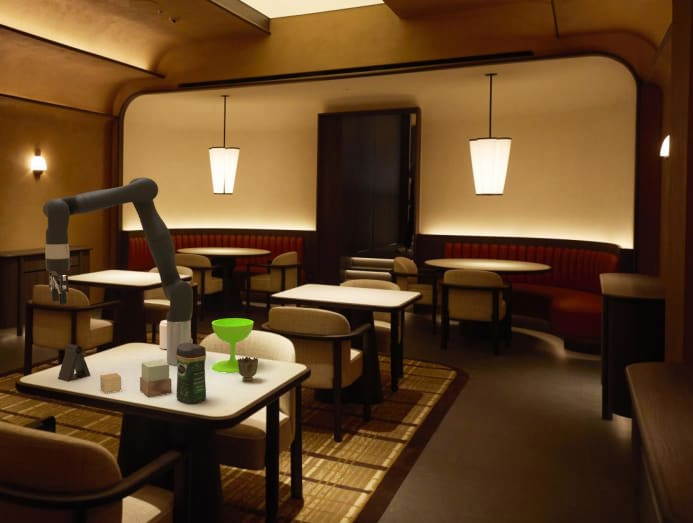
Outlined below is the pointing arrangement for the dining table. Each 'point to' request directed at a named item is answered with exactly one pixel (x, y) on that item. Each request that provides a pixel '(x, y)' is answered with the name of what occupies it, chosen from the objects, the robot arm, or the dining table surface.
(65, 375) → the dark grey a-frame stand
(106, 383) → the tan wooden cube
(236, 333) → the wineglass
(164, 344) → the beverage can
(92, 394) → the dining table surface
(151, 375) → the sage top block
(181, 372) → the coffee jar
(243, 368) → the cup
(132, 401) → the dining table surface
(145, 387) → the walnut base block
